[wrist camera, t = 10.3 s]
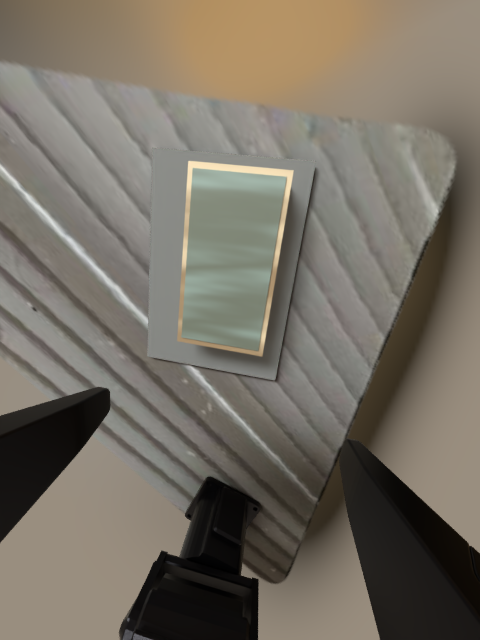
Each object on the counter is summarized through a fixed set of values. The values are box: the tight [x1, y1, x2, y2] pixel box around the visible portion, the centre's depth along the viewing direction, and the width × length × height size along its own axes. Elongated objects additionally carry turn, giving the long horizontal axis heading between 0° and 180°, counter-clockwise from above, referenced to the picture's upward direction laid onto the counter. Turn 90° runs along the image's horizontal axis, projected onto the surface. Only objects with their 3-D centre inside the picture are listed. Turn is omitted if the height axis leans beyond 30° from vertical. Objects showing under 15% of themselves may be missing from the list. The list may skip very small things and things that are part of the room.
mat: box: [148, 148, 316, 380], centre depth 19 cm, size 17×12×1 cm
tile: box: [177, 161, 294, 356], centre depth 17 cm, size 3×6×12 cm
